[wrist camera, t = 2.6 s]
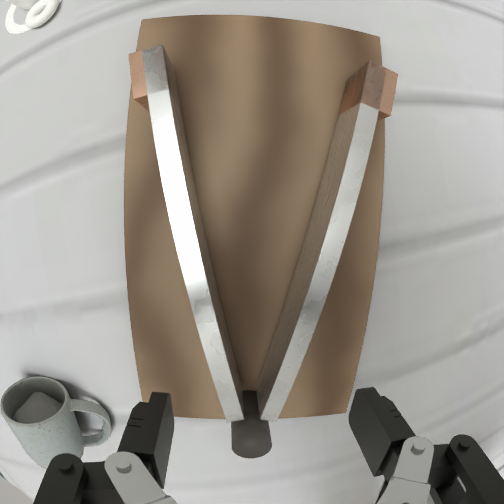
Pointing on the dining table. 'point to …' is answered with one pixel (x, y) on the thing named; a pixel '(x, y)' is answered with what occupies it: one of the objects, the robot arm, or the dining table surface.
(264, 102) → the walnut board
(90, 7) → the dining table surface
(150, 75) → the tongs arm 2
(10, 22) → the teacup and saucer
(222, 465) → the dining table surface
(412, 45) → the dining table surface
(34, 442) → the ceramic mug
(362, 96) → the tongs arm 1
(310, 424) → the dining table surface
